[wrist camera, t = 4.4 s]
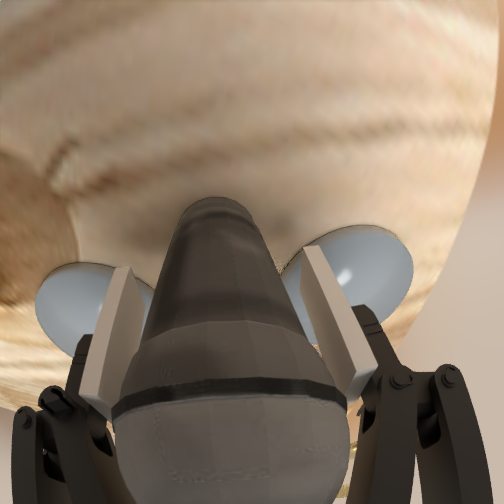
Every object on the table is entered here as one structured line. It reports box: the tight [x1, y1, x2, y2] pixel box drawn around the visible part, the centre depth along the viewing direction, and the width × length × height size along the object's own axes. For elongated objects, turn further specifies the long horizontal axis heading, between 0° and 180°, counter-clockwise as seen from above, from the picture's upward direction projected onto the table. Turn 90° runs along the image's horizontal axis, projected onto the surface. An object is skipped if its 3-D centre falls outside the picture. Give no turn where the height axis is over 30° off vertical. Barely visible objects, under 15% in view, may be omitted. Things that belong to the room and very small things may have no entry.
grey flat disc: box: [35, 263, 155, 358], centre depth 20 cm, size 12×12×1 cm
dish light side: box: [280, 225, 413, 345], centre depth 20 cm, size 11×11×1 cm
